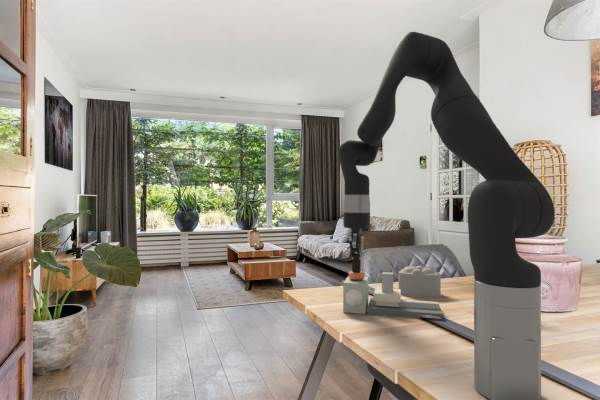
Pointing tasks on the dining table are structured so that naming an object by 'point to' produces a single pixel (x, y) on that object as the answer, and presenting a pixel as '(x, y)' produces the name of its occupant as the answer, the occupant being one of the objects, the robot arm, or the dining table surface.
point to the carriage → (387, 292)
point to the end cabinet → (355, 295)
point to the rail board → (406, 309)
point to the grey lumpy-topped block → (419, 282)
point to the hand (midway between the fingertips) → (356, 272)
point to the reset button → (356, 276)
